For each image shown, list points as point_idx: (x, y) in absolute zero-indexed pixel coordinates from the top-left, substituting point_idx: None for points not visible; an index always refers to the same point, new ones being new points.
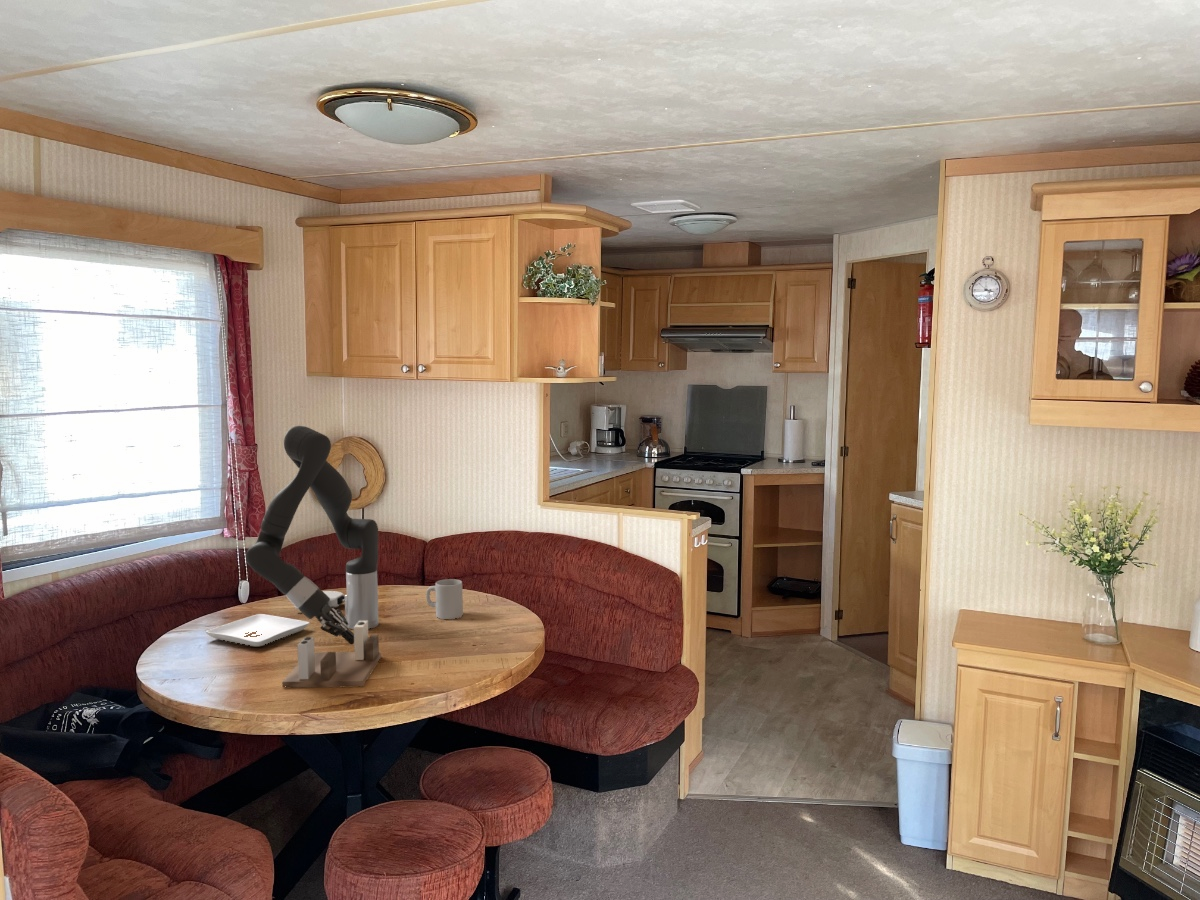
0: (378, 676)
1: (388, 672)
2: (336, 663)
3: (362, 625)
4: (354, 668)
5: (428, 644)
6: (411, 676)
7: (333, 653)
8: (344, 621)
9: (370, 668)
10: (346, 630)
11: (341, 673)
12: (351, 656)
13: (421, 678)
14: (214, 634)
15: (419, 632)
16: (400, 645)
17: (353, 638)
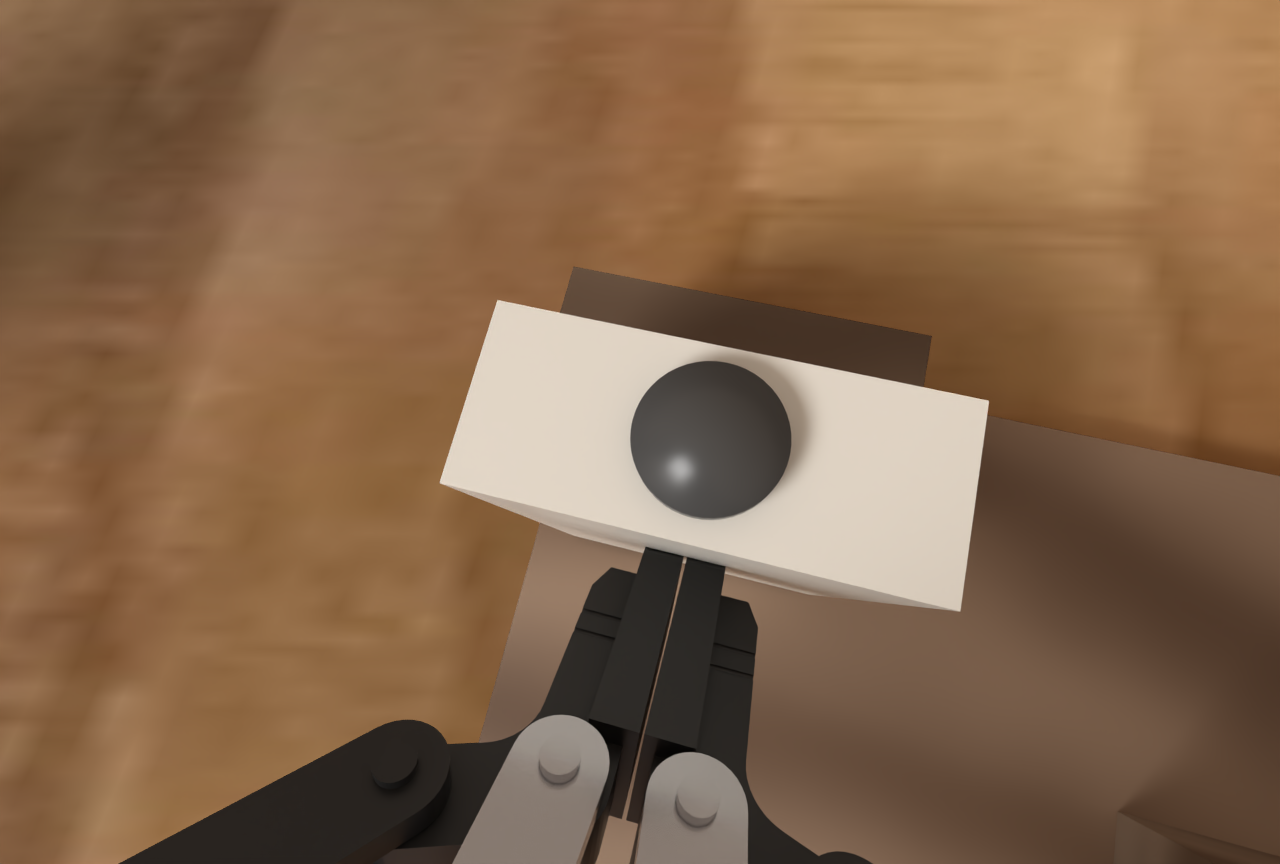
0: (1128, 380)
1: (1030, 297)
2: (859, 804)
3: (843, 408)
4: (1068, 600)
5: (399, 5)
6: (1161, 124)
7: None
8: (376, 841)
9: (1085, 436)
10: (622, 753)
11: (1222, 749)
12: None
13: (1220, 55)
14: None
15: (79, 63)
16: (341, 199)
17: (727, 610)
